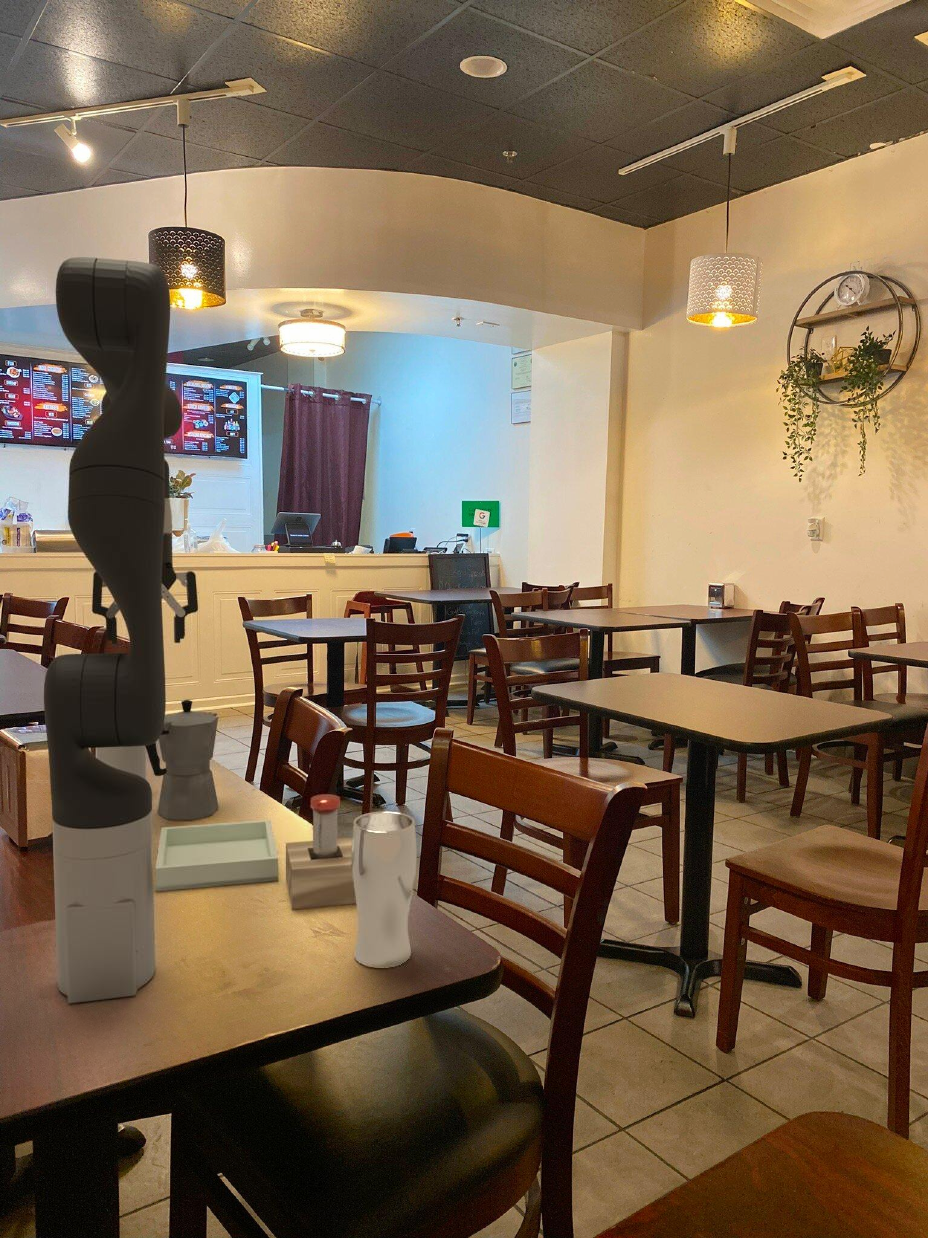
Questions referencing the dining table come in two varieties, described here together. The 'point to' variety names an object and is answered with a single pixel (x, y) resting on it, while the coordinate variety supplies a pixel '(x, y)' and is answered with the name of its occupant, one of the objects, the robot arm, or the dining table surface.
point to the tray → (216, 855)
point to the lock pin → (325, 825)
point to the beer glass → (383, 886)
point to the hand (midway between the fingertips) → (146, 643)
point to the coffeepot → (186, 764)
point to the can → (125, 758)
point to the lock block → (319, 876)
